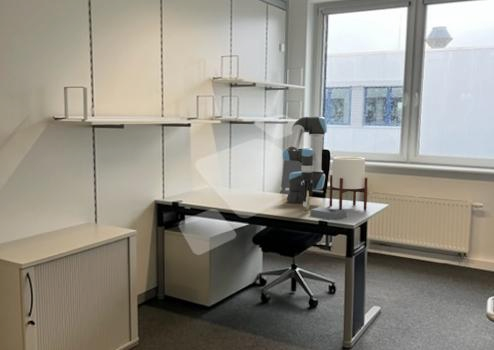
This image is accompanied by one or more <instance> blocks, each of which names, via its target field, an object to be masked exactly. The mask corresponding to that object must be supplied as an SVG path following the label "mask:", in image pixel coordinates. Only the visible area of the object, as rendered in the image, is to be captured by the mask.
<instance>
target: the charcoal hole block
mask: <svg viewBox="0 0 494 350" xmlns="http://www.w3.org/2000/svg"><path fill="white" fill-rule="evenodd" d="M347 212H348V211H347V210H345V209H344V210H343V209H342V210H339V209H337V208H329V207H322V206H318V207H316V208H311V209H309V213H310V215H309V216H311V217H315V218H316V217H317V218H323V219H330V220H341V219H344V218H347Z"/></svg>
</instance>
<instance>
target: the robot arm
mask: <svg viewBox="0 0 494 350" xmlns="http://www.w3.org/2000/svg"><path fill="white" fill-rule="evenodd" d="M327 125H328V124H327V121H326V118H325V117H323V116H302V117H300V118H299V119H297V120H296V121H294V123H293V125H292V127H291V136H290V140H289V143H288V146H287V149H284V150H283V151H282V160H283V161H285V162H286V161H288V162H301V171H300V170H299V171H293V172H290V173H289V177H288V194H287V197H286V203H288V204H293V205H301V204H303V205H302V206H303V207H304V206H305V207H307V190H308V191H309V207H311V197H313V191H314V190H316V191H317V190H323V188H324V187H325V180H326V174H325V173H324V170H322V162H323V161H322V159H323V157H322V154H323V138H324V137H325V135H326V133H327V132H328V128H327ZM305 133H308V136H309V137H310V147H309V148H302V149H300V144H301V141H302V137H303V135H304V134H305Z"/></svg>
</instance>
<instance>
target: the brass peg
mask: <svg viewBox="0 0 494 350" xmlns="http://www.w3.org/2000/svg"><path fill="white" fill-rule="evenodd" d="M303 208H304V209H303V211H304V212H310V206H309V191H308V190H307V207H305V206H303Z"/></svg>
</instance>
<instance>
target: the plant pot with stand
mask: <svg viewBox="0 0 494 350" xmlns="http://www.w3.org/2000/svg"><path fill="white" fill-rule="evenodd" d="M365 172H366V158H365V157H360V156H334V157H332V174H330V175H329V207H332V206H333V191H338V192H339V199H338V200H339V201H338V210H343V194H345V193H347V192H352V194H353V195H352V206H356V203H357V197H356V196H357V193H362V194H363V210H364V211H366V210H367V205H368V204H367V203H368V201H367V199H368V177H365V176H366V173H365Z"/></svg>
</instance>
